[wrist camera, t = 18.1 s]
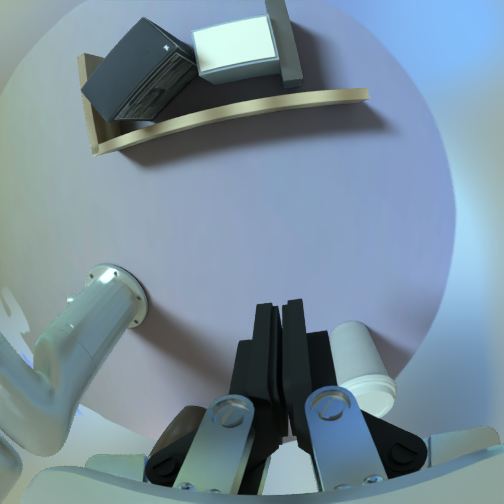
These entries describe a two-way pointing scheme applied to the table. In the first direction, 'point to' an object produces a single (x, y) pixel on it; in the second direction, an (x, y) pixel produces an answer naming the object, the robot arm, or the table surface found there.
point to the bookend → (285, 43)
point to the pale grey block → (236, 50)
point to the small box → (141, 74)
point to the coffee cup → (362, 368)
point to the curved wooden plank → (111, 140)
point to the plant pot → (180, 427)
